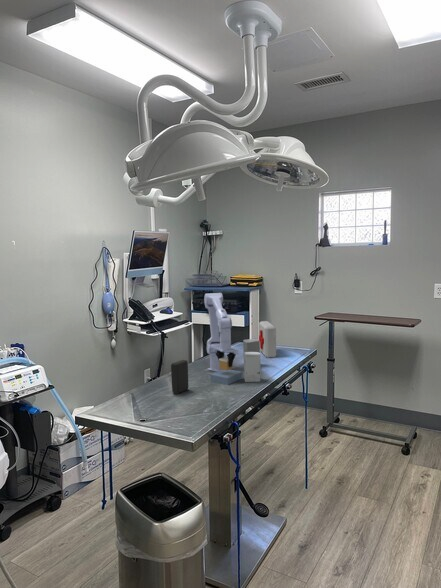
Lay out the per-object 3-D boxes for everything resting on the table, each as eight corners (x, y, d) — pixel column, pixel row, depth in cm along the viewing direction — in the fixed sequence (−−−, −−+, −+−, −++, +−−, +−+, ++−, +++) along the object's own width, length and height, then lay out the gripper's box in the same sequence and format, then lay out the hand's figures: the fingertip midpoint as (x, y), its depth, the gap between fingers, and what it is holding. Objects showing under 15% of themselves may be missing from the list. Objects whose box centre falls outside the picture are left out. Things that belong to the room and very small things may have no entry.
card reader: (183, 388, 220) (182, 359, 218) (189, 389, 218) (188, 360, 216) (171, 393, 213) (169, 363, 211) (177, 394, 210) (176, 364, 209)
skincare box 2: (245, 382, 226) (244, 354, 225) (244, 378, 232) (243, 351, 231) (261, 381, 226) (260, 353, 225) (259, 378, 232) (259, 351, 231)
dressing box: (225, 375, 240) (225, 368, 240) (241, 379, 233) (241, 371, 233) (210, 382, 230) (210, 374, 229) (227, 385, 223) (227, 378, 223)
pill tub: (225, 366, 234) (224, 356, 234) (232, 368, 231) (232, 358, 231) (219, 369, 230) (218, 358, 230) (227, 370, 227) (226, 360, 227)
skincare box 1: (256, 363, 261) (255, 337, 259) (260, 366, 254) (260, 340, 252) (242, 365, 258) (242, 339, 256) (247, 368, 251) (246, 341, 250)
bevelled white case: (257, 350, 293) (257, 321, 291) (269, 349, 294) (268, 320, 292) (264, 358, 273) (263, 327, 270) (276, 357, 273) (276, 326, 271)
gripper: (209, 340, 230) (210, 365, 232) (232, 343, 222) (233, 369, 223) (217, 338, 236) (218, 362, 237) (240, 341, 227) (240, 366, 229)
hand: (226, 365), depth 231 cm, fingers closed on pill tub, 5 cm apart
